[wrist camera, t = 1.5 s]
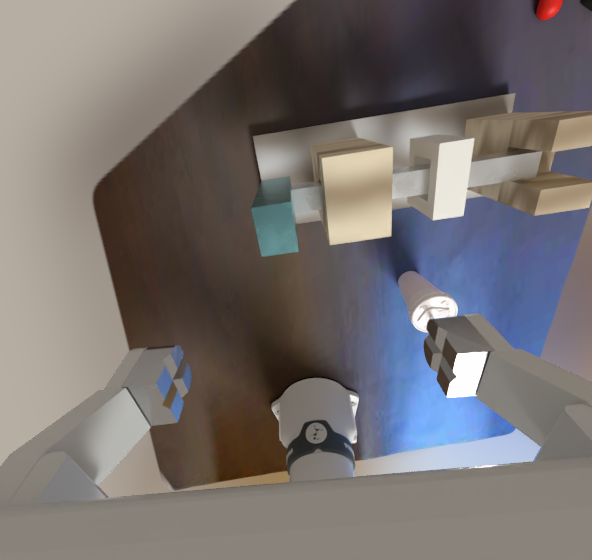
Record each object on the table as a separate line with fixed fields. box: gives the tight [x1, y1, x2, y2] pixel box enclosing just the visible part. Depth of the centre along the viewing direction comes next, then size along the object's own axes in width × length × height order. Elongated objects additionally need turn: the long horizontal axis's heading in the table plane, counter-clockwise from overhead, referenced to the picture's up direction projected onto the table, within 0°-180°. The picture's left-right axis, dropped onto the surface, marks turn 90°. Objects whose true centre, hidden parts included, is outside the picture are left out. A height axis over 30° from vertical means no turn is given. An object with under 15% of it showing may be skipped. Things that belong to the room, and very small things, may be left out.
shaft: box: [251, 149, 543, 257], centre depth 26 cm, size 4×27×11 cm, turn 98°
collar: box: [407, 134, 475, 220], centre depth 30 cm, size 7×3×7 cm, turn 8°
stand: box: [253, 93, 592, 245], centre depth 32 cm, size 12×32×15 cm, turn 98°
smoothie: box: [398, 271, 458, 332], centre depth 42 cm, size 6×6×14 cm
